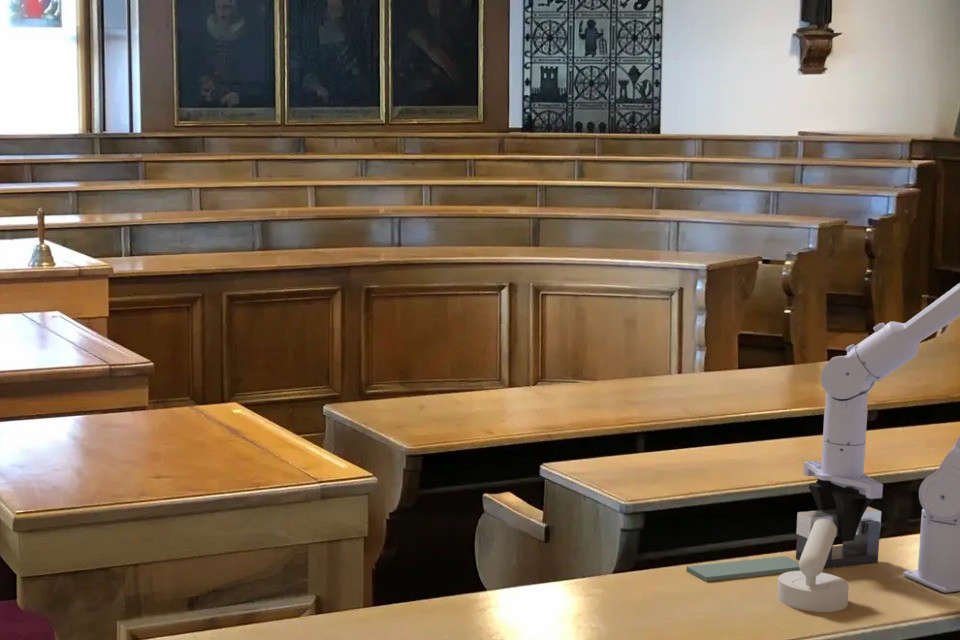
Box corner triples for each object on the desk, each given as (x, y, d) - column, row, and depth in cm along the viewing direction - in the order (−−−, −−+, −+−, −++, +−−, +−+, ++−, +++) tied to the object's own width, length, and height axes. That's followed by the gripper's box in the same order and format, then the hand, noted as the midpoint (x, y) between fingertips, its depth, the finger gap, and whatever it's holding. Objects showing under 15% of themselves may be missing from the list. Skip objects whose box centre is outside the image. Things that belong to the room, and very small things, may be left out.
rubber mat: (784, 560, 178) (785, 556, 178) (806, 570, 174) (806, 566, 174) (686, 570, 172) (686, 566, 172) (706, 581, 167) (706, 577, 167)
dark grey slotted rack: (853, 552, 183) (855, 512, 182) (877, 562, 178) (880, 522, 177) (795, 558, 179) (798, 518, 178) (819, 569, 174) (821, 528, 174)
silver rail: (865, 526, 182) (867, 506, 181) (879, 532, 179) (881, 511, 179) (796, 533, 177) (797, 512, 177) (809, 539, 174) (811, 517, 174)
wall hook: (860, 521, 163) (843, 540, 154) (856, 594, 164) (839, 616, 155) (793, 512, 167) (773, 529, 158) (789, 582, 168) (769, 604, 159)
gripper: (788, 432, 182) (783, 525, 183) (855, 454, 168) (848, 554, 170) (828, 430, 184) (823, 521, 186) (897, 451, 171) (890, 549, 173)
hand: (838, 537), depth 178 cm, fingers closed on silver rail, 3 cm apart
